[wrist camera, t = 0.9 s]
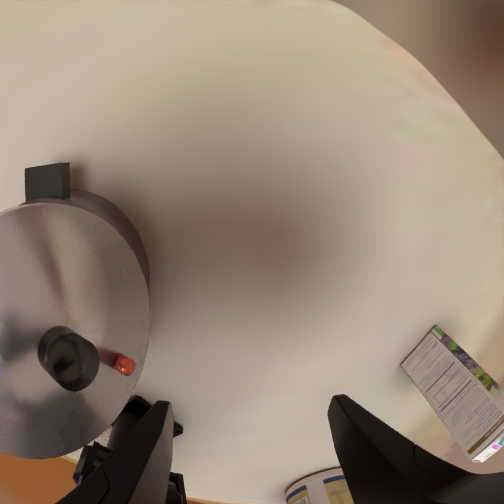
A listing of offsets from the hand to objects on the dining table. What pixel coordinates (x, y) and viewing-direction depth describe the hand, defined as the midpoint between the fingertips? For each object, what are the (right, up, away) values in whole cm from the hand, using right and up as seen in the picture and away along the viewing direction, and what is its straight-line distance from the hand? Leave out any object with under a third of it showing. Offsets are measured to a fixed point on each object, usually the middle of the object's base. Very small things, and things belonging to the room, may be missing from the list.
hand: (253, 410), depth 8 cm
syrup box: (+19, -6, +18) cm, 27 cm away
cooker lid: (-9, +1, +2) cm, 10 cm away
